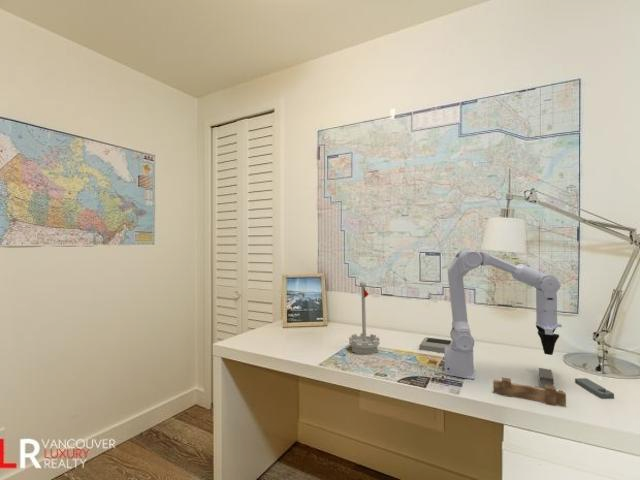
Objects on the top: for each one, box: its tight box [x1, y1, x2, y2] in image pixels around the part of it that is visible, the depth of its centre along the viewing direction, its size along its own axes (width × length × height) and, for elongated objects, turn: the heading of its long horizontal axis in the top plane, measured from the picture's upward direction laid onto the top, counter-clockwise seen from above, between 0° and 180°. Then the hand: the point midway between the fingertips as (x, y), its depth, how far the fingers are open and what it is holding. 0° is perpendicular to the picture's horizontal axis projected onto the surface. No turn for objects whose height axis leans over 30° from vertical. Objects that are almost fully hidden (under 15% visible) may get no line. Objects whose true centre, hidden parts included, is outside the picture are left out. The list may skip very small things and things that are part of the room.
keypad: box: [418, 336, 453, 354], centre depth 139 cm, size 10×4×15 cm
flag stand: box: [348, 280, 380, 355], centre depth 140 cm, size 13×13×30 cm
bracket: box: [574, 377, 615, 400], centre depth 100 cm, size 4×10×2 cm, turn 177°
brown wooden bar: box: [492, 377, 567, 407], centre depth 97 cm, size 18×5×4 cm, turn 60°
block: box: [538, 367, 555, 389], centre depth 103 cm, size 3×8×4 cm, turn 148°
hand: (547, 350), depth 108 cm, fingers open, 7 cm apart
